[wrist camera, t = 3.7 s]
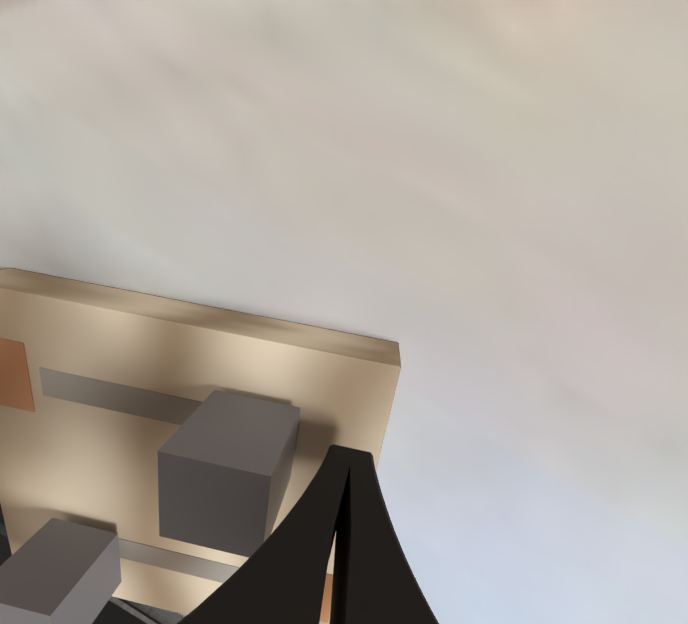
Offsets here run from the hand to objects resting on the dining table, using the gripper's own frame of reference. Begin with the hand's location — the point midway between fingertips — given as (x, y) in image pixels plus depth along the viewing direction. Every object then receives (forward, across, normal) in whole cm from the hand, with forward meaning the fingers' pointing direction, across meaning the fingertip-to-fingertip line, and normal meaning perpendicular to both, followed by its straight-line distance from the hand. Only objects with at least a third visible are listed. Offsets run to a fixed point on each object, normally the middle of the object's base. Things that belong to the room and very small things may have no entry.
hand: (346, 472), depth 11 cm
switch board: (+3, +7, +4) cm, 9 cm away
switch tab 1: (+1, +10, +8) cm, 13 cm away
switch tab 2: (+1, +3, 0) cm, 3 cm away
